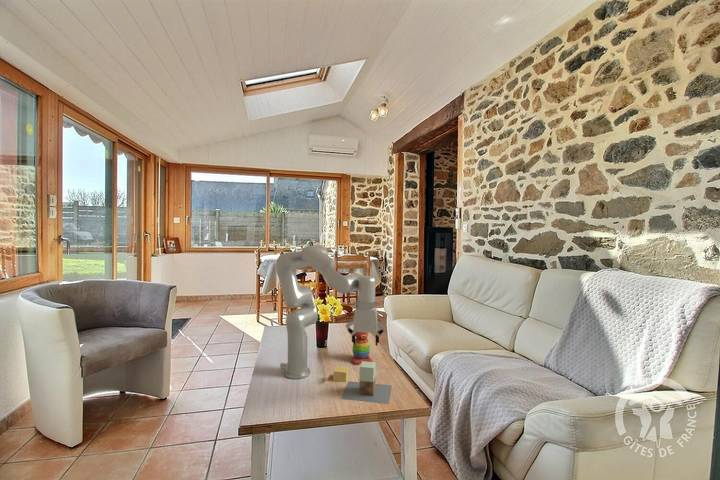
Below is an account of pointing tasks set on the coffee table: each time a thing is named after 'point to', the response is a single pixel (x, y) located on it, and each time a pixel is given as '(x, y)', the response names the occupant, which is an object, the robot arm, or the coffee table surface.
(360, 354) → the stacking bear
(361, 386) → the walnut base block
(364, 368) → the sage-green block
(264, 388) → the coffee table surface
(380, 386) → the slate base board
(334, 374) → the ochre block
